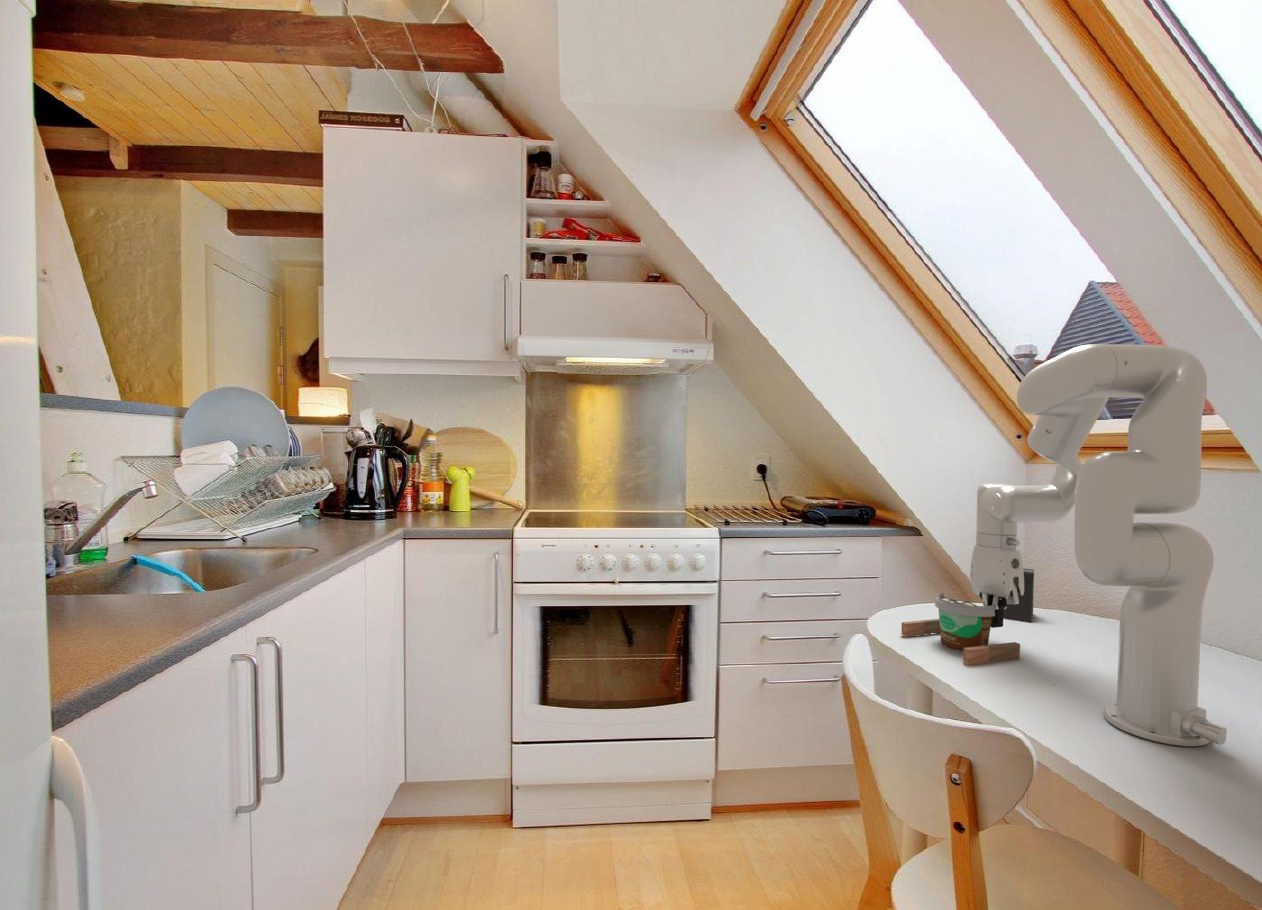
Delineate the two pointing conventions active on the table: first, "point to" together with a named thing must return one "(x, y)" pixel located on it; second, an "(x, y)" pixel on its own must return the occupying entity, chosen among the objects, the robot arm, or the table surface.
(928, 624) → the lane walls
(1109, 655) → the table surface
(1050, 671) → the table surface
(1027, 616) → the phone stand
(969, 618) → the food container
